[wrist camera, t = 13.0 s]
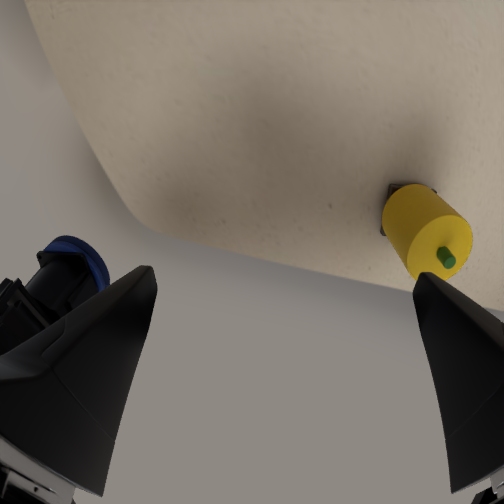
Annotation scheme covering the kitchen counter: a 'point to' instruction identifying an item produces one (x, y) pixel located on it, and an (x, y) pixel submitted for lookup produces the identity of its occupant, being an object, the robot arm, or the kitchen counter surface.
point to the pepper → (426, 232)
